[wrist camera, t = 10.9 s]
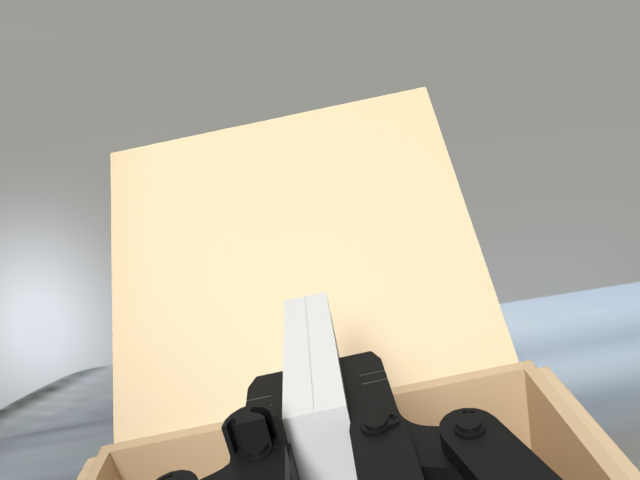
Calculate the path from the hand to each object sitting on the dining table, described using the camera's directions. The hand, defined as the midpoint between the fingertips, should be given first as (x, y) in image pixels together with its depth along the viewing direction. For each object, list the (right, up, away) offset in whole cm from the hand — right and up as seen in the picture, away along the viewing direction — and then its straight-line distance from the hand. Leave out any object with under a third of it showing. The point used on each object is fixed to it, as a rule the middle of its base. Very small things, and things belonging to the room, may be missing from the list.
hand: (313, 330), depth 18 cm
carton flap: (-2, +3, +11) cm, 12 cm away
